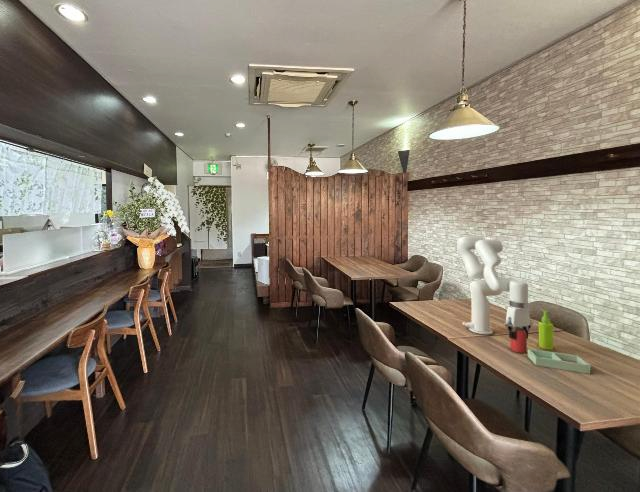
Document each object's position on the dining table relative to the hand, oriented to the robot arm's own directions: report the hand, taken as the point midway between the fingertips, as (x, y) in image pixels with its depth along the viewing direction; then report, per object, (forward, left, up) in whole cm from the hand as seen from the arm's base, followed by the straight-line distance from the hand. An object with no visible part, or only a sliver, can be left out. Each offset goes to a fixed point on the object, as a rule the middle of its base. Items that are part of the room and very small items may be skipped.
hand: (518, 337), depth 152 cm
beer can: (0, 0, -7) cm, 7 cm away
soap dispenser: (+15, +11, -7) cm, 20 cm away
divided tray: (+12, -10, -7) cm, 17 cm away
